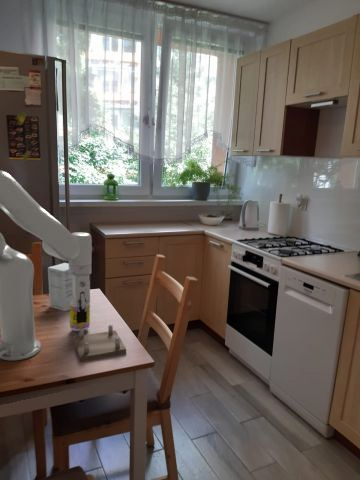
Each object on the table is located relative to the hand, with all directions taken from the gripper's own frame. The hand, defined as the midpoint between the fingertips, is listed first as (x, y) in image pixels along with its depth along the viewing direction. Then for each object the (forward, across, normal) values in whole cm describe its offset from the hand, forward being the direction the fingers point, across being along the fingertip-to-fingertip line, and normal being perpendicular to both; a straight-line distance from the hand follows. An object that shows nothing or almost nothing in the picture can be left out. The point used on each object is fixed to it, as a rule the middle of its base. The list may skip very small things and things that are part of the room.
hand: (80, 317), depth 129 cm
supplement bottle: (+4, 0, 0) cm, 4 cm away
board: (+5, -14, -4) cm, 15 cm away
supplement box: (+5, +26, +2) cm, 26 cm away
